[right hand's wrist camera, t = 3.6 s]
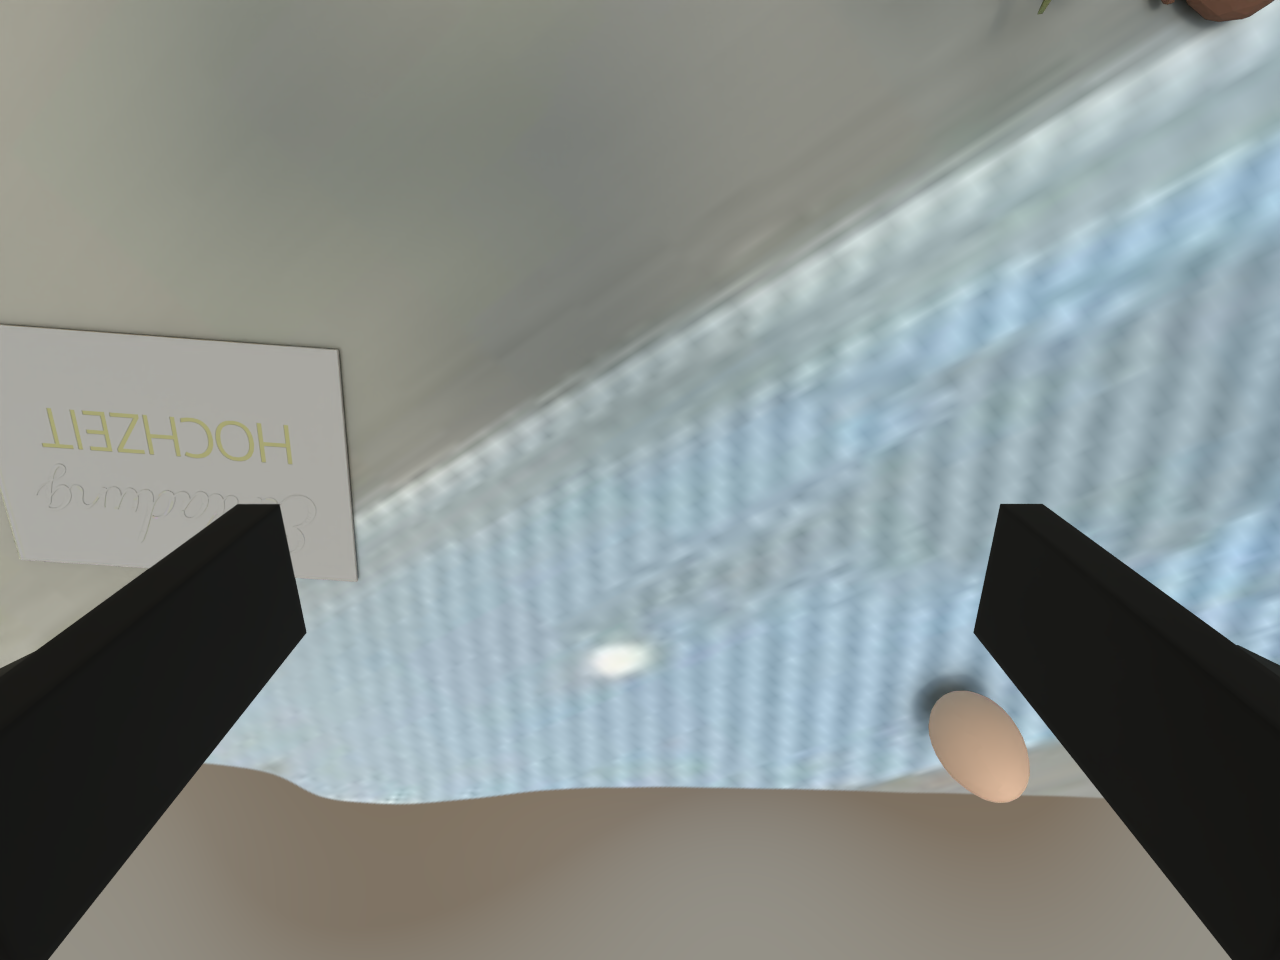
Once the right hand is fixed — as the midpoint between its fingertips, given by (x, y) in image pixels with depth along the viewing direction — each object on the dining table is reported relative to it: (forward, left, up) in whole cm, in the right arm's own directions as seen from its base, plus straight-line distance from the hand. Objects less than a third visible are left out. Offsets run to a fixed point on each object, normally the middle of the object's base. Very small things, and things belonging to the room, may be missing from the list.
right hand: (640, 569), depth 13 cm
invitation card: (+8, -28, -28) cm, 41 cm away
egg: (+26, +22, -28) cm, 44 cm away
